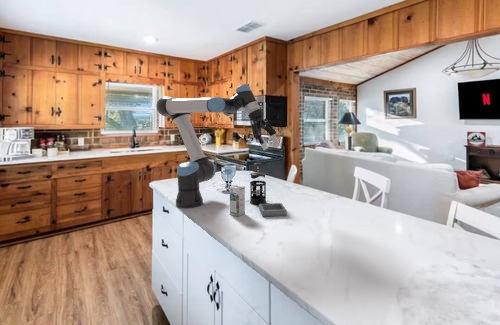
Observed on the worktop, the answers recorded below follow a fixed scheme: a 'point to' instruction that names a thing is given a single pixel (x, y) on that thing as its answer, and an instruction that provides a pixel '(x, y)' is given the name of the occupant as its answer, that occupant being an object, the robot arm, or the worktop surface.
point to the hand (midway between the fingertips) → (272, 147)
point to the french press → (257, 196)
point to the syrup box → (237, 200)
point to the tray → (272, 210)
